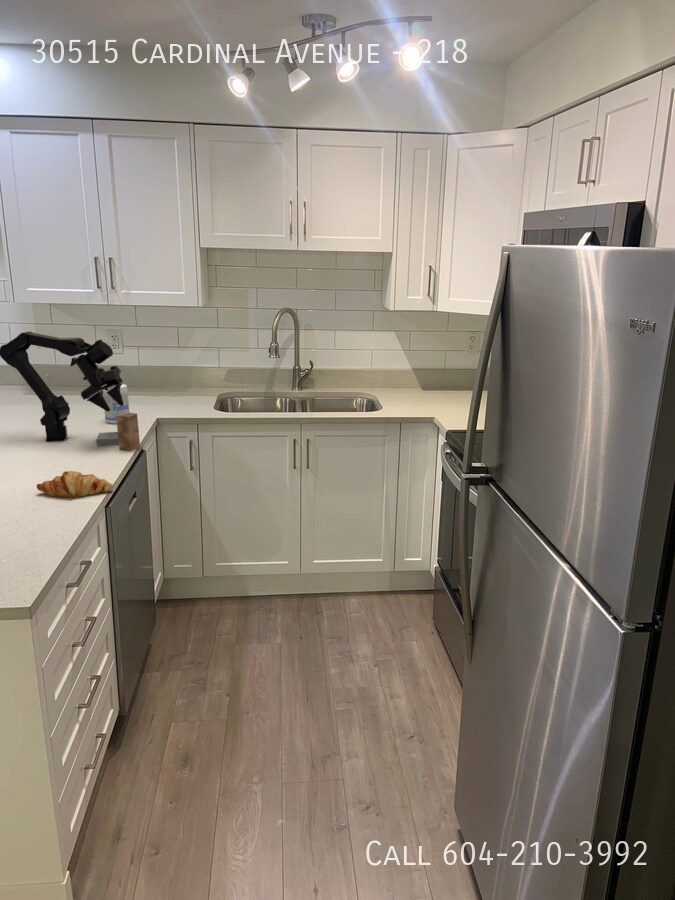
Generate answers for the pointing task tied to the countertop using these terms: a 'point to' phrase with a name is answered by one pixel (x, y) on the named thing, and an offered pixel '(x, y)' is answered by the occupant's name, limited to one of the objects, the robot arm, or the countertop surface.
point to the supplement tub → (116, 405)
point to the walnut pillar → (128, 431)
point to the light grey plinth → (107, 439)
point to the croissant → (74, 485)
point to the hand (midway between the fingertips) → (115, 408)
